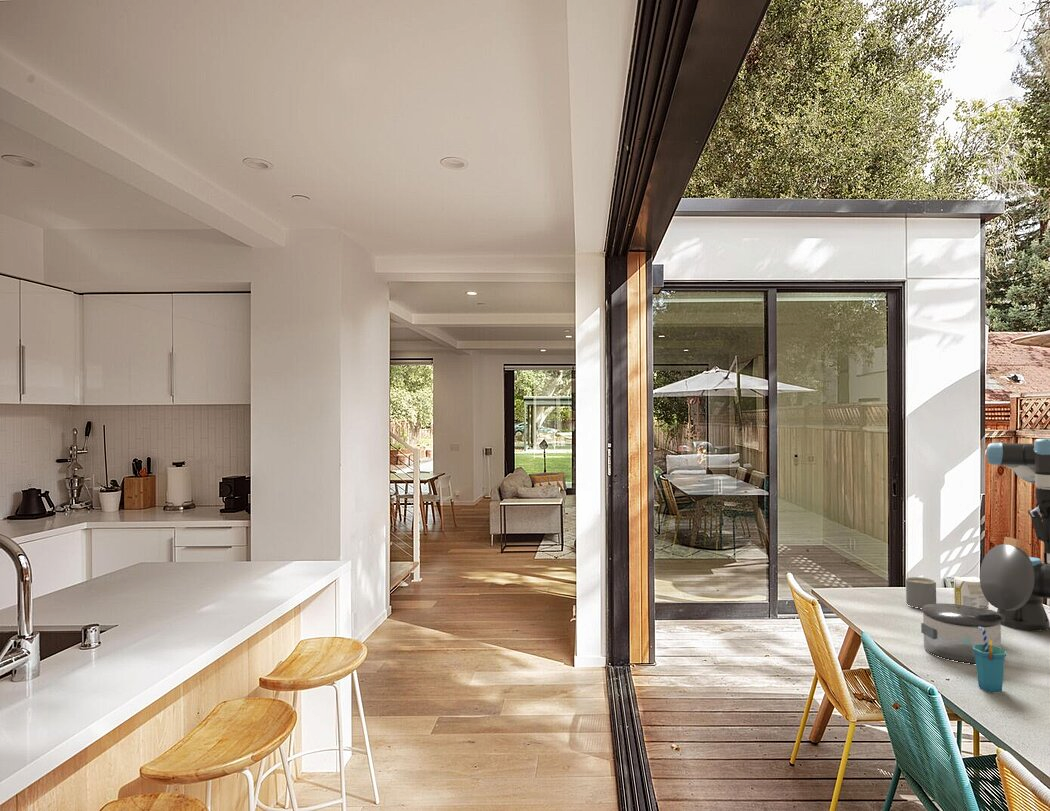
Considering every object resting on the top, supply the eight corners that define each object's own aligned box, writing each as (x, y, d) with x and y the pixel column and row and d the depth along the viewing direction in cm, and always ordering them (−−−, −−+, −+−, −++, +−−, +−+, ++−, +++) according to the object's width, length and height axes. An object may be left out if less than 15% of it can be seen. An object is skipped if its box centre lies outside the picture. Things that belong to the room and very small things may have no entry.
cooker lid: (974, 598, 211) (985, 600, 211) (1020, 617, 191) (1032, 620, 191) (987, 532, 211) (997, 534, 211) (1034, 544, 191) (1046, 546, 191)
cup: (964, 675, 184) (963, 622, 184) (997, 679, 181) (995, 625, 181) (980, 696, 171) (979, 639, 171) (1015, 700, 168) (1014, 642, 168)
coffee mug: (937, 611, 243) (936, 584, 243) (906, 607, 248) (905, 581, 248) (935, 602, 255) (934, 576, 255) (906, 598, 260) (905, 574, 260)
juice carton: (992, 639, 212) (991, 581, 213) (965, 639, 213) (964, 581, 213) (977, 631, 220) (976, 575, 220) (951, 631, 220) (950, 575, 221)
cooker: (976, 641, 211) (975, 603, 211) (1024, 665, 190) (1022, 623, 190) (908, 642, 211) (907, 603, 211) (949, 666, 190) (947, 624, 191)
